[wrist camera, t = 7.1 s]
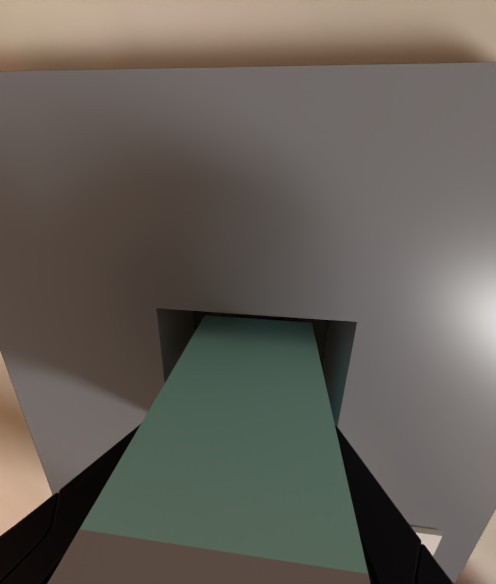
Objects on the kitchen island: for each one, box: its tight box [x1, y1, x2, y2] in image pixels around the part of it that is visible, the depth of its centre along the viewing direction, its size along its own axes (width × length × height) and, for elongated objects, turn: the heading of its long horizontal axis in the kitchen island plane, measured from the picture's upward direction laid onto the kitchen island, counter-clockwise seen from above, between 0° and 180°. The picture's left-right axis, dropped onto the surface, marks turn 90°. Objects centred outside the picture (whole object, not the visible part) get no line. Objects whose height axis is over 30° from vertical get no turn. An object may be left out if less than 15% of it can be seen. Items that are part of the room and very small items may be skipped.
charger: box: [48, 315, 370, 584], centre depth 7 cm, size 4×4×8 cm
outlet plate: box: [0, 62, 496, 582], centre depth 11 cm, size 18×18×4 cm
